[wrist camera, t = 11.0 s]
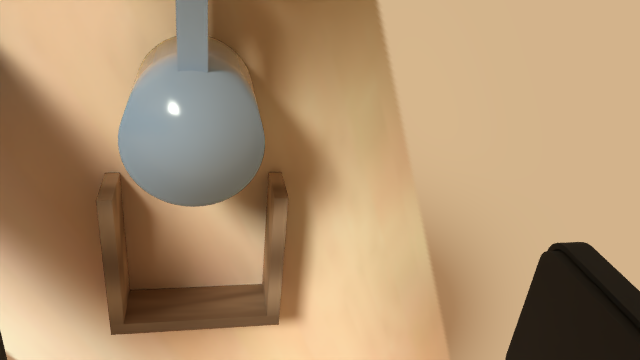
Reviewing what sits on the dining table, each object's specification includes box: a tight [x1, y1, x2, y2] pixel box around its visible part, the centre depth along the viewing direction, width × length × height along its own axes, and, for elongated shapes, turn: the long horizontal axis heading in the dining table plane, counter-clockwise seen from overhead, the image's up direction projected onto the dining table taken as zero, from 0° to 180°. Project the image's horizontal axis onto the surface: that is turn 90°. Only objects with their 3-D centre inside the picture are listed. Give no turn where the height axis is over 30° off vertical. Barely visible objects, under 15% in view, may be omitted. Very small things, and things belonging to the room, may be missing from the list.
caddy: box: [96, 173, 288, 335], centre depth 42 cm, size 12×13×4 cm
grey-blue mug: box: [118, 0, 265, 207], centre depth 33 cm, size 14×8×9 cm, turn 175°
